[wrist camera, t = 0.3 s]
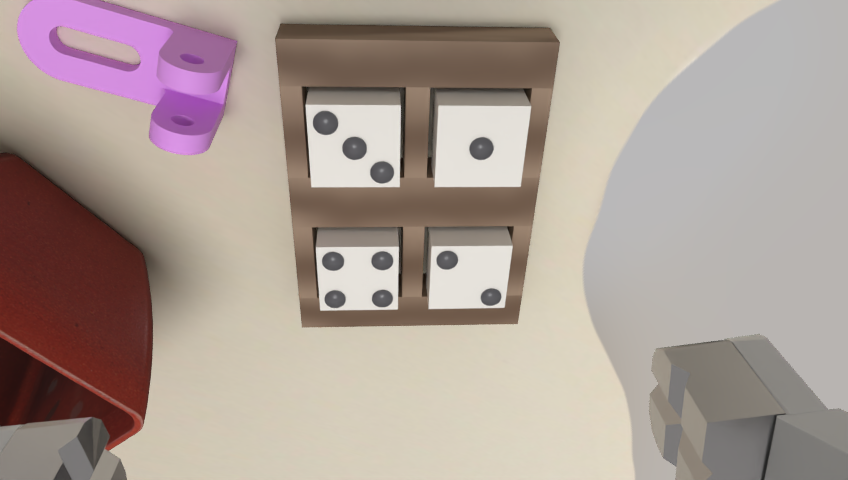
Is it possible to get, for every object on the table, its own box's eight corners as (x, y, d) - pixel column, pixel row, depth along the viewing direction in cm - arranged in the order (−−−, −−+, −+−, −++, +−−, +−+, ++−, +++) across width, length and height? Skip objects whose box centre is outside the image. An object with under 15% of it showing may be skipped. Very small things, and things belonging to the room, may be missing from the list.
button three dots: (309, 85, 45) (305, 105, 42) (399, 86, 45) (400, 106, 43) (314, 164, 48) (311, 188, 46) (398, 164, 49) (399, 188, 46)
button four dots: (318, 222, 51) (315, 248, 48) (397, 222, 52) (398, 248, 49) (322, 284, 55) (320, 312, 52) (396, 283, 55) (397, 311, 52)
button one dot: (434, 86, 45) (438, 106, 43) (522, 87, 46) (531, 107, 43) (431, 164, 49) (434, 188, 46) (512, 164, 49) (521, 188, 46)
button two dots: (428, 222, 52) (431, 247, 49) (505, 221, 52) (513, 247, 49) (425, 283, 55) (428, 310, 52) (498, 282, 56) (504, 309, 53)
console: (280, 24, 44) (275, 38, 42) (549, 28, 45) (559, 42, 43) (305, 303, 58) (302, 327, 55) (511, 300, 59) (517, 323, 57)
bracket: (237, 40, 45) (217, 79, 39) (223, 114, 48) (203, 160, 42) (27, -22, 42) (-28, 10, 36) (26, 61, 45) (-25, 103, 39)
